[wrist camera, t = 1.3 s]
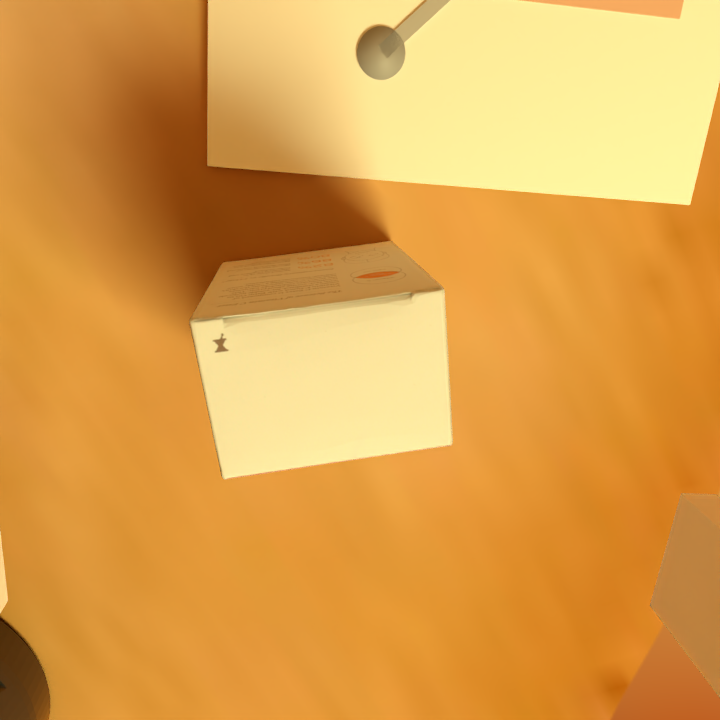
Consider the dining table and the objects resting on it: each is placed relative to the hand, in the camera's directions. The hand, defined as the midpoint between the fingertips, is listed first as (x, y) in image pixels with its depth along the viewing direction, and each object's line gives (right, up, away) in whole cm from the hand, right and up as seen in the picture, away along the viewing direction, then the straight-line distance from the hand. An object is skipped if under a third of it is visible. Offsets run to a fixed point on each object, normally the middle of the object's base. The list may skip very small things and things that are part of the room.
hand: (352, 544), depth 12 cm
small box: (-2, +6, +18) cm, 19 cm away
